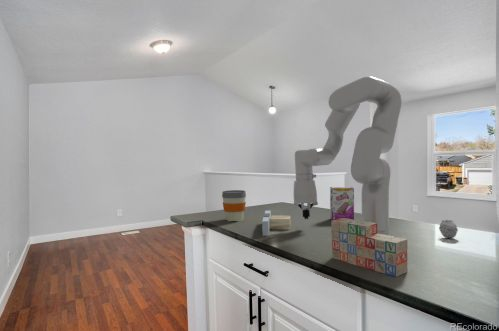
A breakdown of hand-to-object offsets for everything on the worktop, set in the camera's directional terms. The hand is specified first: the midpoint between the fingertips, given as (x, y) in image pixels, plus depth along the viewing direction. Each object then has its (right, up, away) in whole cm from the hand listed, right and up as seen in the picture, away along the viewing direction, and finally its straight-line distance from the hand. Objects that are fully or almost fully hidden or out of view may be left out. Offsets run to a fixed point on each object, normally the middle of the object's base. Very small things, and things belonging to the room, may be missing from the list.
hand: (306, 218), depth 141 cm
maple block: (-11, -5, +4) cm, 13 cm away
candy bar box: (+21, -4, +18) cm, 29 cm away
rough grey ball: (+50, -4, -21) cm, 55 cm away
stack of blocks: (+10, -6, -47) cm, 49 cm away
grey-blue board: (-17, -5, +3) cm, 18 cm away
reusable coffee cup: (-33, -5, +24) cm, 42 cm away
